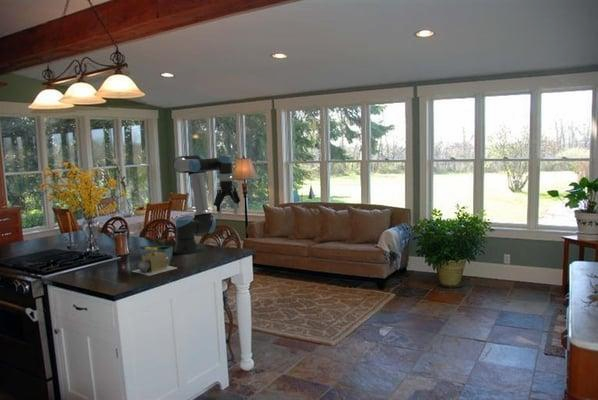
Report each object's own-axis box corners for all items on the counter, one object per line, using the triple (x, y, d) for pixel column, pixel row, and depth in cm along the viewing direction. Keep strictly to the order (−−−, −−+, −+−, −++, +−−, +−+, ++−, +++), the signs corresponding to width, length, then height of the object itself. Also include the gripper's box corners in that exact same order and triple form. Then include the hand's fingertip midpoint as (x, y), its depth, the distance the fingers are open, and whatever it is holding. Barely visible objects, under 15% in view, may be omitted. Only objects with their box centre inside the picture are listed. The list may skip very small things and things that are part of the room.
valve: (136, 272, 269) (134, 253, 268) (163, 265, 283) (162, 247, 282) (145, 274, 263) (143, 255, 262) (172, 267, 277) (171, 249, 276)
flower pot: (174, 260, 296) (173, 246, 294) (165, 264, 287) (164, 249, 286) (162, 260, 298) (161, 246, 297) (153, 263, 290) (152, 249, 289)
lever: (138, 249, 278) (138, 246, 278) (145, 247, 281) (144, 245, 281) (152, 251, 269) (152, 249, 269) (159, 250, 272) (158, 248, 272)
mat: (131, 272, 272) (131, 271, 272) (160, 264, 286) (160, 263, 286) (149, 276, 260) (149, 275, 260) (178, 268, 275) (178, 267, 275)
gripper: (215, 182, 276) (217, 218, 279) (245, 178, 296) (246, 212, 299) (206, 182, 281) (208, 217, 284) (236, 178, 301) (238, 211, 303)
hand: (227, 215), depth 291 cm, fingers open, 13 cm apart
